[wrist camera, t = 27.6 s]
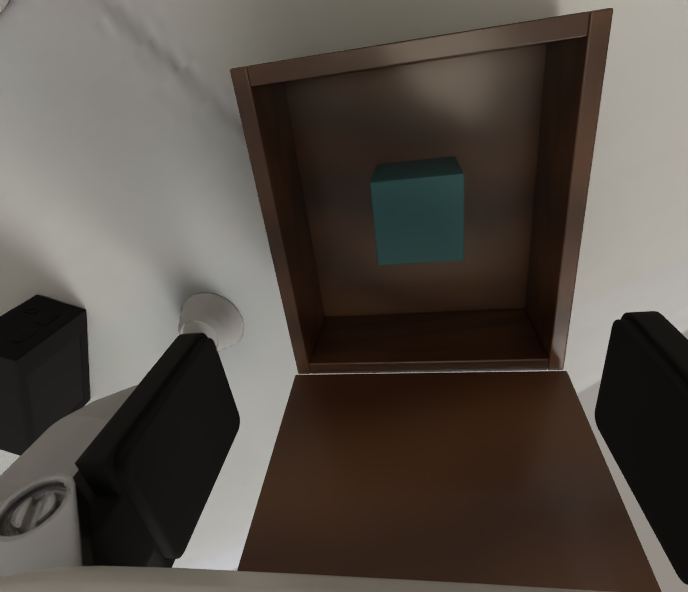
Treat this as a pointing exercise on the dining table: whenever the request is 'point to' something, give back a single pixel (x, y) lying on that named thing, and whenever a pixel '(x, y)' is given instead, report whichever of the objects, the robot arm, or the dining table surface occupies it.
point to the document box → (419, 144)
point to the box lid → (444, 485)
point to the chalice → (113, 401)
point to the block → (418, 211)
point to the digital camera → (40, 369)
